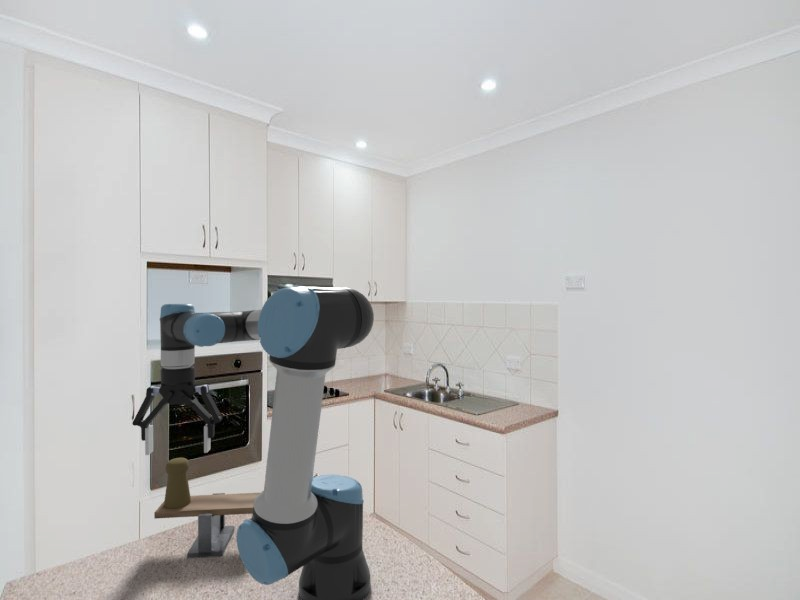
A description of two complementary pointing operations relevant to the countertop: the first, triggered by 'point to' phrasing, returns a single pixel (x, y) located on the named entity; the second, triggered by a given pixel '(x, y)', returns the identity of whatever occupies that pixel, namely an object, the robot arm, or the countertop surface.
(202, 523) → the seesaw stand
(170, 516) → the seesaw plank
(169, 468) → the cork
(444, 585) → the countertop surface
